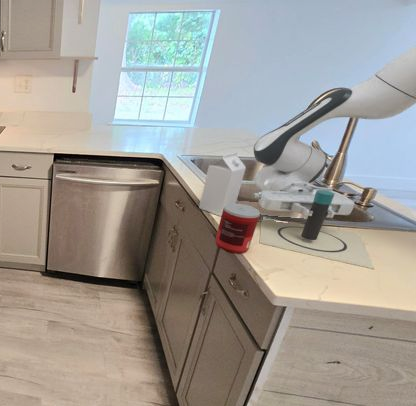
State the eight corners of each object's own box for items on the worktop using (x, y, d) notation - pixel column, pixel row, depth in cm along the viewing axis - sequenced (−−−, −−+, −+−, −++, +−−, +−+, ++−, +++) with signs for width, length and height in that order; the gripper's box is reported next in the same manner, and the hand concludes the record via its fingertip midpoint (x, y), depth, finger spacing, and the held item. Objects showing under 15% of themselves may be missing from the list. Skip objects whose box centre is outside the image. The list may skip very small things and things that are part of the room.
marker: (316, 236, 98) (333, 191, 93) (317, 241, 95) (335, 195, 90) (300, 233, 100) (316, 189, 95) (300, 238, 97) (317, 193, 92)
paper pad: (360, 235, 101) (360, 234, 100) (374, 269, 86) (374, 267, 86) (261, 216, 113) (262, 215, 113) (259, 243, 98) (259, 242, 98)
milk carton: (198, 208, 120) (211, 152, 112) (211, 204, 123) (225, 149, 115) (220, 216, 114) (235, 158, 106) (233, 211, 117) (249, 154, 109)
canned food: (239, 240, 100) (250, 203, 96) (254, 255, 93) (267, 216, 89) (209, 238, 102) (218, 202, 97) (221, 253, 95) (232, 215, 90)
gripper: (253, 182, 107) (276, 200, 95) (336, 186, 103) (372, 205, 90) (248, 202, 110) (269, 222, 98) (329, 206, 105) (362, 228, 93)
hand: (320, 214), depth 94 cm, fingers closed on marker, 3 cm apart
